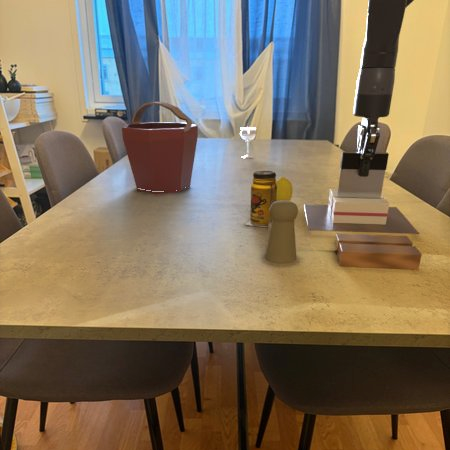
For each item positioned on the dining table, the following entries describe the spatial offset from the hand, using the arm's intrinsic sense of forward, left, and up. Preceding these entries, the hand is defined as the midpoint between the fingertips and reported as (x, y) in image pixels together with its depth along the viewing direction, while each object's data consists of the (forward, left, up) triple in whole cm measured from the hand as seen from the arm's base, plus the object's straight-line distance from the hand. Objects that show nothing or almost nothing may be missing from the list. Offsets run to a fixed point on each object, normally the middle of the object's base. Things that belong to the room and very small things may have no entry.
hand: (362, 174), depth 100 cm
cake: (0, -4, -10) cm, 11 cm away
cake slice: (0, +3, -10) cm, 11 cm away
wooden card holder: (0, +24, -11) cm, 26 cm away
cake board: (0, 0, -11) cm, 11 cm away
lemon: (+18, -12, -11) cm, 25 cm away
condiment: (+22, +3, -11) cm, 25 cm away
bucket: (+56, -30, -11) cm, 65 cm away
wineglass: (+33, -93, -11) cm, 100 cm away
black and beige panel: (0, 0, -6) cm, 6 cm away
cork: (+18, +26, -11) cm, 33 cm away
